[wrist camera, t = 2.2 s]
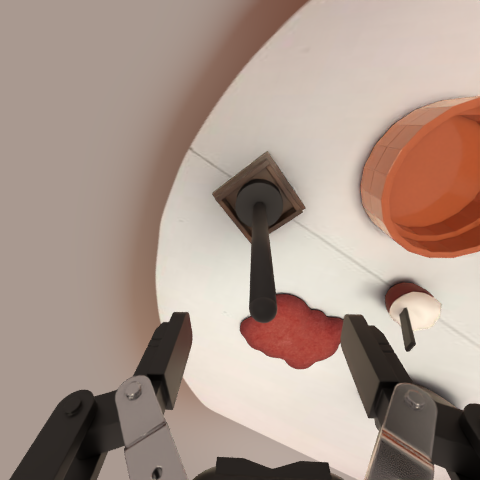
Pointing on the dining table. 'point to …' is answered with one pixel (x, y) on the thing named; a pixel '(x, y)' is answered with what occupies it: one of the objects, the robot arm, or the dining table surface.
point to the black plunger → (260, 243)
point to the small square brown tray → (259, 170)
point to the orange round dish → (428, 180)
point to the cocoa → (412, 310)
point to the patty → (294, 333)
